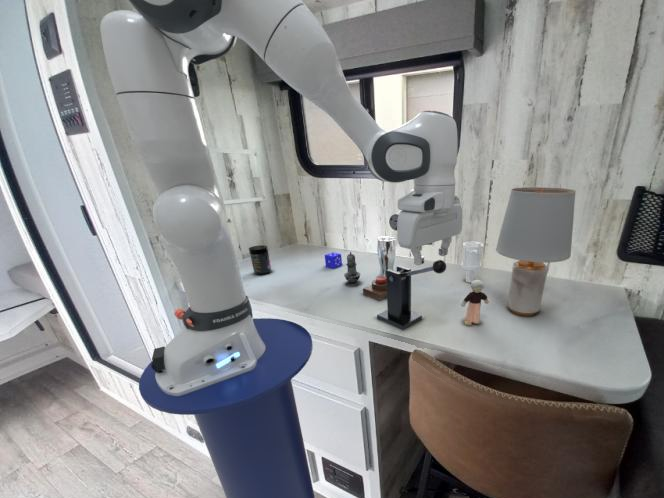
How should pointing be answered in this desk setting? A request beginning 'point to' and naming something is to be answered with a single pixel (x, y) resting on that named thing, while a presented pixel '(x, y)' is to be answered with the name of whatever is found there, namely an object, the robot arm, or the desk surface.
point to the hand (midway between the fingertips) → (431, 259)
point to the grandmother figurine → (474, 302)
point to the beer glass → (386, 254)
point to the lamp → (535, 241)
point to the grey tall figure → (352, 271)
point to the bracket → (399, 300)
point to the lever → (426, 269)
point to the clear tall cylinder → (471, 259)
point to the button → (381, 280)
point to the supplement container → (260, 260)
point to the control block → (376, 290)
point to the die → (333, 260)
